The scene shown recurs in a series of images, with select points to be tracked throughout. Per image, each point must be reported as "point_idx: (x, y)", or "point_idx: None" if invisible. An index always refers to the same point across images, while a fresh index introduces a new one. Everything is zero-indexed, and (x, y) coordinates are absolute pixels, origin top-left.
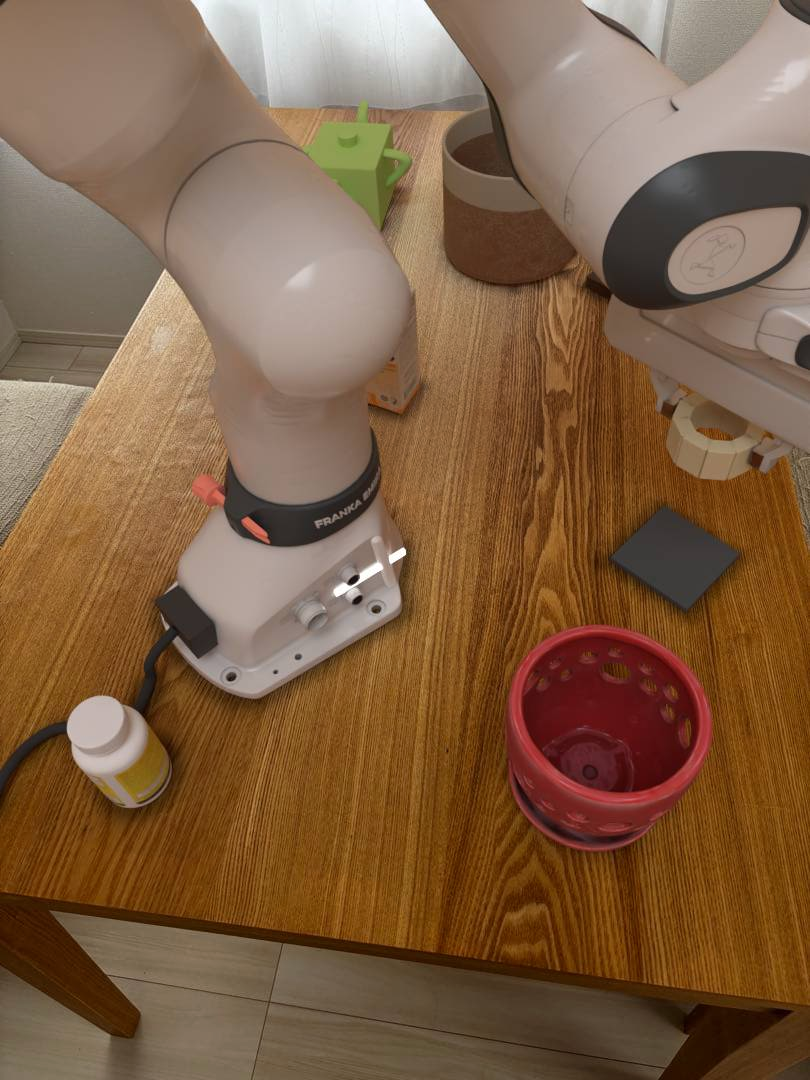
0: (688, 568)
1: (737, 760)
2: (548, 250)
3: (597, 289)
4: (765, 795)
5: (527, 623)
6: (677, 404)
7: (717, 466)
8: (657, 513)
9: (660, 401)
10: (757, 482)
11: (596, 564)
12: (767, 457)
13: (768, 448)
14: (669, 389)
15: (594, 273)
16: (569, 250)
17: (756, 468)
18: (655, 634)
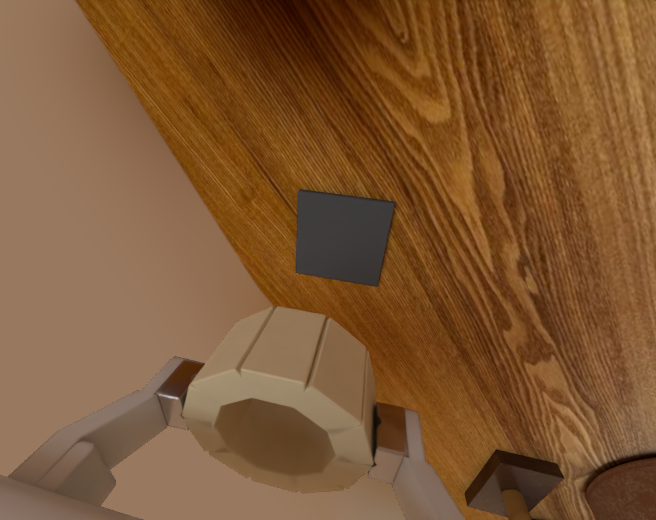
0: (322, 234)
1: (173, 62)
2: (636, 511)
3: (544, 465)
4: (135, 44)
5: (443, 50)
6: (374, 449)
7: (236, 340)
8: (378, 275)
9: (414, 447)
10: None
11: (404, 189)
12: (145, 394)
13: (164, 410)
14: (407, 488)
15: (557, 481)
16: (599, 503)
17: (188, 361)
18: (309, 146)
